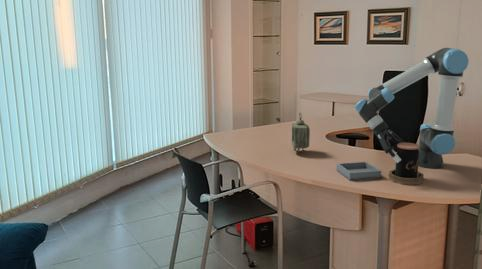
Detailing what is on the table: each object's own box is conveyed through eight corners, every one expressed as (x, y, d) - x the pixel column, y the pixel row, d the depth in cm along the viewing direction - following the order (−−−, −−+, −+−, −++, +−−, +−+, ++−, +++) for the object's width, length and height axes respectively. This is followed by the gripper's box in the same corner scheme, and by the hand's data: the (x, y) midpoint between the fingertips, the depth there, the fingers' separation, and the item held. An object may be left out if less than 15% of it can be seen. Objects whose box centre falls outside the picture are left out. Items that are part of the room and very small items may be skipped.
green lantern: (291, 149, 302) (292, 110, 296) (305, 149, 302) (306, 110, 296) (294, 155, 287) (295, 114, 282) (309, 155, 288) (310, 114, 282)
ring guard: (411, 173, 253) (412, 167, 252) (429, 183, 237) (430, 177, 236) (383, 175, 249) (383, 170, 249) (399, 185, 234) (399, 180, 233)
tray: (365, 168, 261) (366, 161, 261) (380, 178, 245) (381, 170, 244) (336, 170, 258) (336, 163, 257) (349, 180, 242) (349, 173, 241)
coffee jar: (406, 184, 236) (409, 148, 232) (390, 178, 245) (392, 144, 241) (421, 180, 241) (424, 146, 237) (405, 174, 250) (407, 141, 246)
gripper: (382, 125, 258) (407, 157, 253) (362, 134, 240) (389, 168, 234) (392, 117, 254) (418, 149, 248) (372, 125, 235) (400, 159, 229)
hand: (404, 158), depth 241 cm, fingers open, 13 cm apart
